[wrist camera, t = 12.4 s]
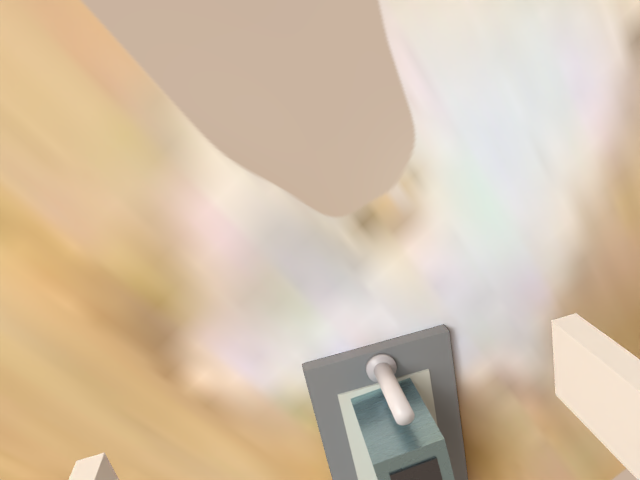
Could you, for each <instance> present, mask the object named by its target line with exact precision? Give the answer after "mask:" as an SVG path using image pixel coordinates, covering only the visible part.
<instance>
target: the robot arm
mask: <svg viewBox="0 0 640 480" xmlns="http://www.w3.org/2000/svg"><path fill="white" fill-rule="evenodd" d="M551 323H552V341H553V359H554V376H555V394H556V396H557V397H558V398H559V399H560V400H561V401H562V402H563V403H564V404H565V405H566V406H567V407H568V408H569V409H570V410H571V411H572V412H573V413H574V414H575V415H576V416H577V417H578V418H579V420H580V421H581V422H582V423H583V424H584V425H585V426H586V427H587V428H588V429H589V430H590V431H591V432H592V433H593V434H594V435H595V436H596V437H597V438H598V439H599V440H600V441H601V442H602V443H603V444H604V445H605V446H606V447H607V449H608V450H609V451H610V452H611V453H612V454H613V455H614V456H615V457H616V458H617V459H618V460H619V461H620V462H621V463H622V464H623V465H624V466H625V467H626V468H627V469H628V470H629V471H630V472H631V473H632V474H633V475H634V476H635V478H637V480H640V359H638V358H637V357H636V356H634V355H633V354H631V353H630V352H629V351H627V350H626V349H625V348H623V347H622V346H620V345H619V344H618V343H616V342H615V341H614V340H612V339H611V338H609V337H608V336H607V335H605V334H604V333H603V332H601V331H600V330H598V329H597V328H596V327H594V326H593V325H592V324H590V323H589V322H587V321H586V320H585V319H583V318H582V317H580V316H579V315H578V314H576V313H575V314H571V315H568V316H564V317H561V318H558V319H554V320H551ZM69 480H119V479H118V477H117V475H116V473H115V471H114V469H113V468H112V466H111V464H110V462H109V460H108V458H107V456H106V454H105V453H101V454H98V455H95V456H91V457H88V458H85V459H81V460H78V461H76V464H75V466H74V468H73V471H72V473H71V475H70V477H69Z"/></svg>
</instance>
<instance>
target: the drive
mask: <svg viewBox="0 0 640 480" xmlns="http://www.w3.org/2000/svg"><path fill="white" fill-rule="evenodd" d="M398 383H399V385H400V387H401V389H402V391H403V393H404V395H405V396H406V398H407V400H408V402H409V404H410V406H411V408H412V410H413V412H414V415H415V417H414V419H413V421H412V422H411V423H410V424H408V425H404V426H402V425H399V424H397V423H396V421H395V419H394V417H393V414H392V412H391V410H390V408H389V405H388V403H387V401H386V399H385V397H384V394H383V392H382V390H381V388H379V389H377V390H374V391H371V392H368V393H365V394H363V395H360V396H357V397H354V398H351V402H352V405H353V408H354V411H355V414H356V417H357V420H358V423H359V426H360V429H361V432H362V435H363V438H364V441H365V444H366V447H367V450H368V453H369V456H370V459H371V462H372V465H373V468H374V471H375V474H376V477H377V480H455V479H454V475H453V471H452V467H451V463H450V459H449V455H448V451H447V447H446V443H445V439H444V437H443V435H442V434H441V432H440V430H439V428H438V426H437V425H436V423H435V421H434V419H433V418H432V416H431V414H430V412H429V410H428V409H427V407H426V405H425V403H424V402H423V400H422V398H421V396H420V394H419V393H418V391H417V389H416V387H415V386H414V384H413V382H412V380H411V378H408V379H405V380H402V381H399V382H398Z"/></svg>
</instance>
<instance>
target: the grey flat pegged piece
mask: <svg viewBox="0 0 640 480" xmlns="http://www.w3.org/2000/svg"><path fill="white" fill-rule="evenodd" d="M302 367H303V372H304V375H305V379H306V383H307V387H308V390H309V394H310V398H311V401H312V405H313V409H314V413H315V416H316V420H317V424H318V427H319V431H320V435H321V439H322V442H323V446H324V450H325V453H326V457H327V461H328V464H329V468H330V472H331V476H332V479H333V480H377V477H376V474H375V471H374V468H373V465H372V462H371V459H370V456H369V453H368V450H367V447H366V444H365V441H364V438H363V435H362V432H361V429H360V426H359V423H358V420H357V417H356V414H355V411H354V408H353V405H352V402H351V398H354V397H357V396H360V395H363V394H365V393H368V392H371V391H374V390H377V389H379V388H381V390H382V392H383V394H384V397H385V399H386V401H387V403H388V405H389V408H390V410H391V412H392V414H393V417H394V419H395V421H396V423H397V424H399V425H402V426H404V425H408V424H410V423H411V422H412V421H413V419H414V417H415V415H414V412H413V410H412V408H411V406H410V404H409V402H408V400H407V398H406V396H405V395H404V393H403V391H402V389H401V387H400V385H399V383H398V382H399V381H402V380H405V379H408V378H411V380H412V382H413V384H414V386H415V387H416V389H417V391H418V393H419V394H420V396H421V398H422V400H423V402H424V403H425V405H426V407H427V409H428V410H429V412H430V414H431V416H432V418H433V419H434V421H435V423H436V425H437V426H438V428H439V430H440V432H441V434H442V435H443V437H444V439H445V443H446V447H447V451H448V455H449V459H450V463H451V467H452V471H453V475H454V479H455V480H468V475H467V467H466V460H465V452H464V444H463V436H462V428H461V420H460V412H459V405H458V397H457V389H456V381H455V373H454V365H453V357H452V350H451V342H450V334H449V330H448V329H447V328H446V326H445V325H440V326H437V327H433V328H429V329H426V330H422V331H419V332H415V333H411V334H408V335H404V336H401V337H397V338H393V339H390V340H386V341H383V342H379V343H375V344H372V345H368V346H365V347H361V348H357V349H354V350H350V351H347V352H343V353H339V354H336V355H332V356H329V357H325V358H321V359H318V360H314V361H311V362H307V363H303V364H302Z"/></svg>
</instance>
